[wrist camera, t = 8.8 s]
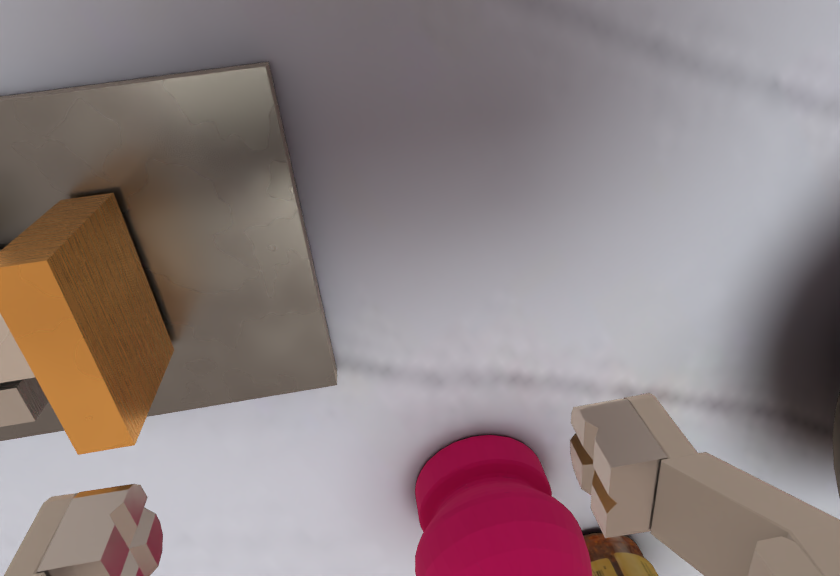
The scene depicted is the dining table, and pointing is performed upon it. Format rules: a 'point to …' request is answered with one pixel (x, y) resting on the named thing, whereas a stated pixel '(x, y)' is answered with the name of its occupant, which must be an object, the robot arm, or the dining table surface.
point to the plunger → (83, 322)
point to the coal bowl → (837, 443)
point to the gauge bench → (180, 227)
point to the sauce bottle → (616, 556)
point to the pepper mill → (494, 515)
